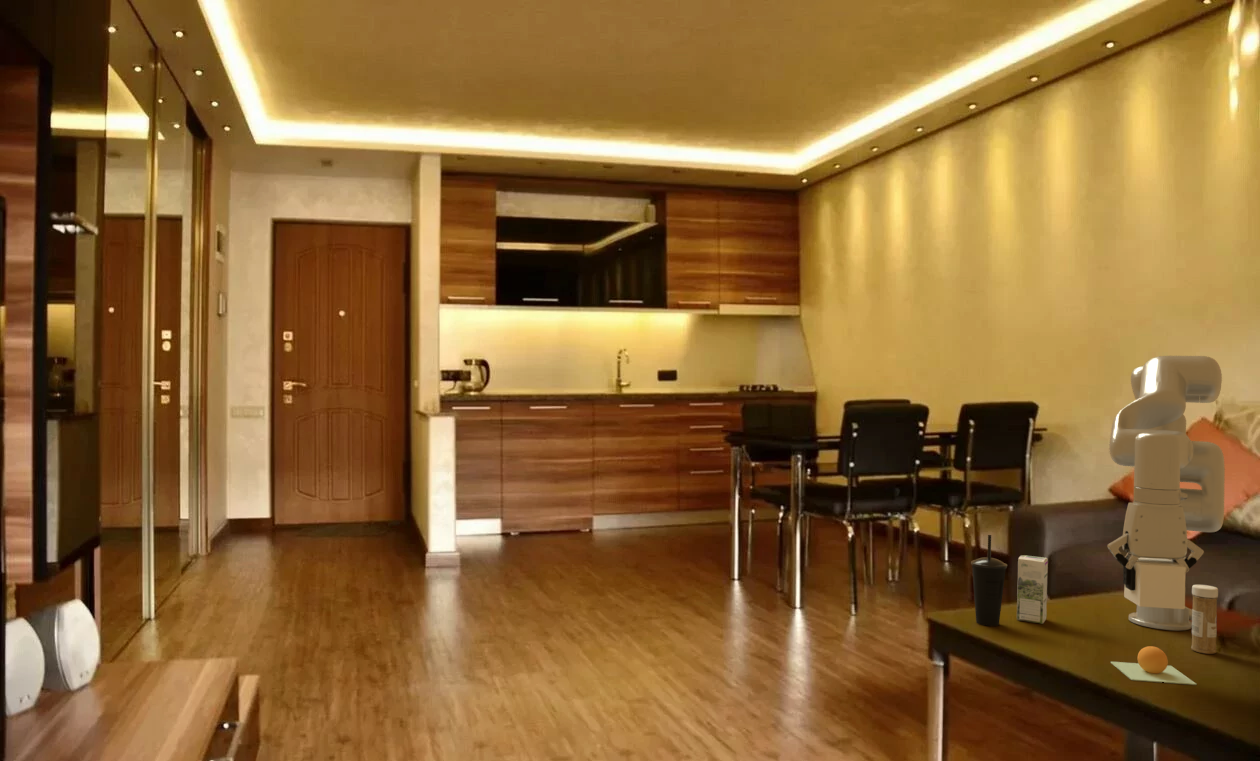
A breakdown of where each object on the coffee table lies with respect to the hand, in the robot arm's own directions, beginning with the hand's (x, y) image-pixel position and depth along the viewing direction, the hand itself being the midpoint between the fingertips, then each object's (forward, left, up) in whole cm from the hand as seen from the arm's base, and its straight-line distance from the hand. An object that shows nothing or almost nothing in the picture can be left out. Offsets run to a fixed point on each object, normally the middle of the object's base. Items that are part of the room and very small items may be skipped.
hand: (1153, 589), depth 173 cm
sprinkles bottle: (-17, -19, -16) cm, 30 cm away
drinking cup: (+23, -31, -16) cm, 42 cm away
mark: (0, 0, -16) cm, 16 cm away
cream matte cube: (0, 0, -3) cm, 3 cm away
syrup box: (+12, -37, -16) cm, 42 cm away
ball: (0, 0, -13) cm, 13 cm away
